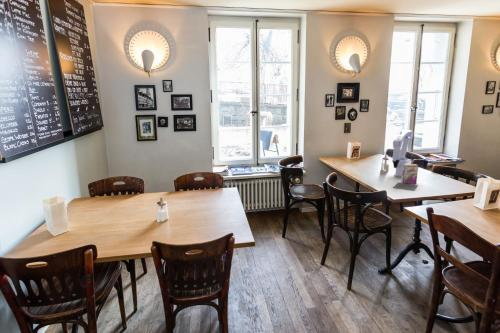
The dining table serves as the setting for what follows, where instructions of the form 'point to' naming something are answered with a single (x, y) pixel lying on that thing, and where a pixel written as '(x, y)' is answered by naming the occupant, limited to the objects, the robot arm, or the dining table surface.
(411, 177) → the candy bar box
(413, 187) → the mat
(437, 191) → the dining table surface
